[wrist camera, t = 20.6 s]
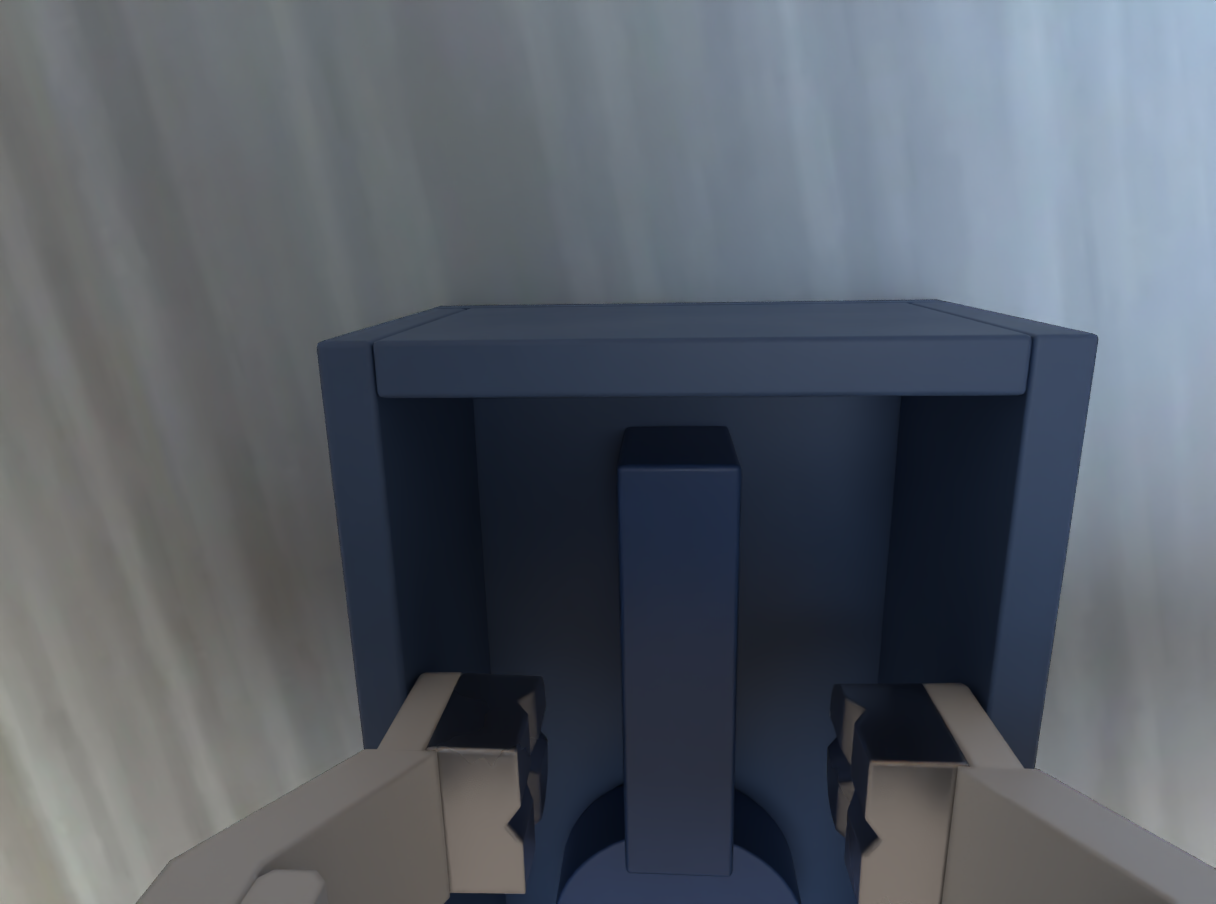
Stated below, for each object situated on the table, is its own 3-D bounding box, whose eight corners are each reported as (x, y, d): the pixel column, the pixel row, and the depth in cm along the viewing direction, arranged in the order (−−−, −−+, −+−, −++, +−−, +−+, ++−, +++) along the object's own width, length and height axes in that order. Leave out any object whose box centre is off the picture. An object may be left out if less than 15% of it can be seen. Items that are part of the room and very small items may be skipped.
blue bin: (490, 1002, 16) (425, 1286, 12) (438, 305, 12) (313, 342, 8) (872, 1023, 15) (952, 1331, 11) (940, 299, 12) (1101, 334, 7)
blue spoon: (541, 425, 12) (515, 465, 10) (815, 423, 12) (847, 464, 10) (567, 956, 15) (551, 1076, 13) (789, 967, 15) (810, 1091, 12)
